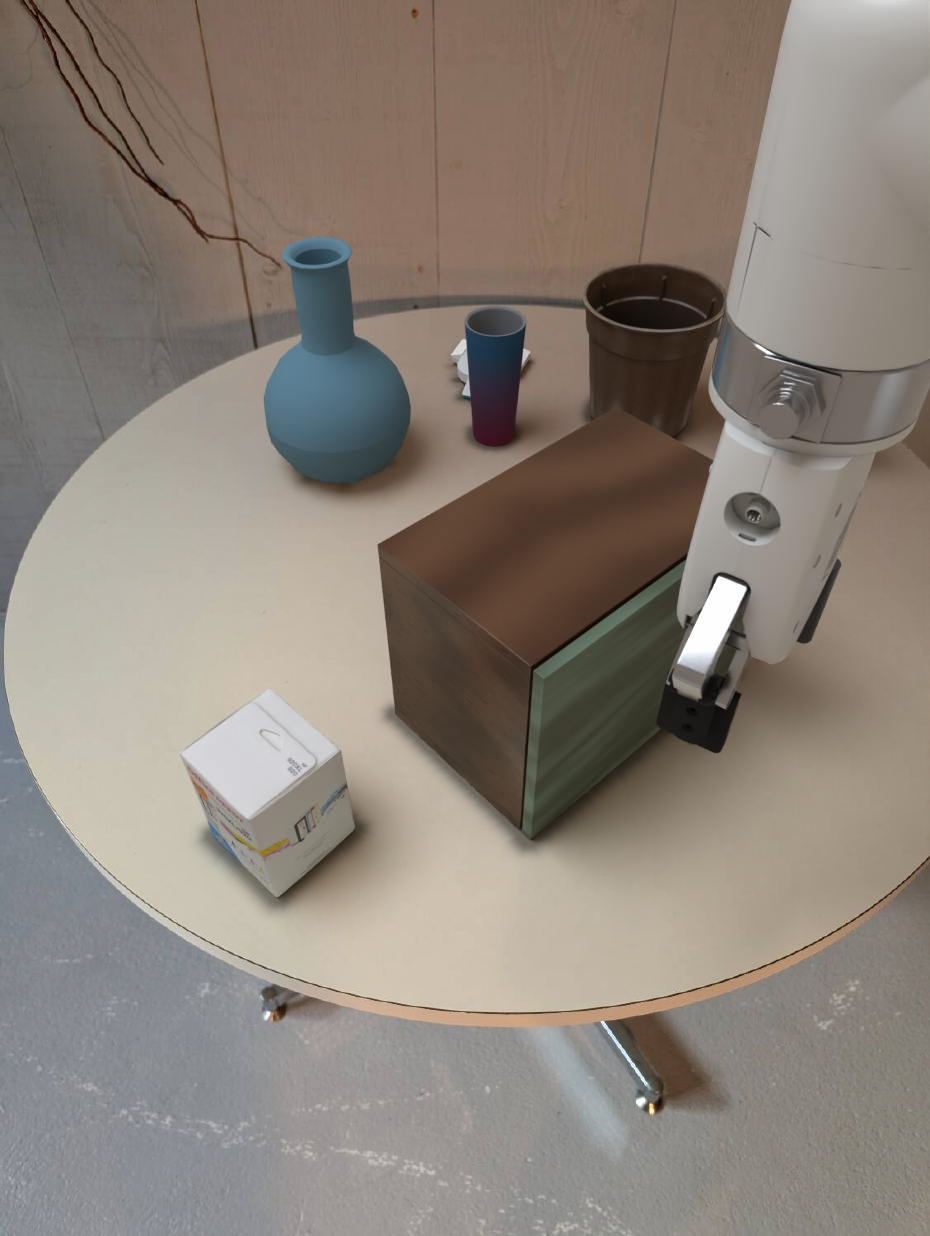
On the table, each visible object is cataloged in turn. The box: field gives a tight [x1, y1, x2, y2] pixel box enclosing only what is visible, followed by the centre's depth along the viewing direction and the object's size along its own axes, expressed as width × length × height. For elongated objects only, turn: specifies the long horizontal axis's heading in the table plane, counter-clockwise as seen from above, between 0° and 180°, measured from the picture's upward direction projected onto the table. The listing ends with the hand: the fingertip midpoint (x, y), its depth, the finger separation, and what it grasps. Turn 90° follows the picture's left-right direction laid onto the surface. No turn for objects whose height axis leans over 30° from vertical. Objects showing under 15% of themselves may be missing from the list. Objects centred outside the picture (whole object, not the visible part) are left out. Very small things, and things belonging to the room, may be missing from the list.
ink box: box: [179, 687, 356, 898], centre depth 69 cm, size 9×8×12 cm
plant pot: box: [581, 261, 728, 438], centre depth 107 cm, size 16×16×16 cm
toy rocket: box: [450, 338, 531, 399], centre depth 120 cm, size 16×10×2 cm, turn 159°
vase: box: [263, 236, 412, 485], centre depth 99 cm, size 16×17×25 cm
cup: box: [464, 305, 527, 447], centre depth 105 cm, size 7×7×15 cm
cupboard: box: [377, 407, 714, 831], centre depth 76 cm, size 16×26×20 cm, turn 132°
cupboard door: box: [521, 557, 842, 840], centre depth 70 cm, size 8×26×20 cm, turn 132°
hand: (726, 668), depth 45 cm, fingers open, 9 cm apart
